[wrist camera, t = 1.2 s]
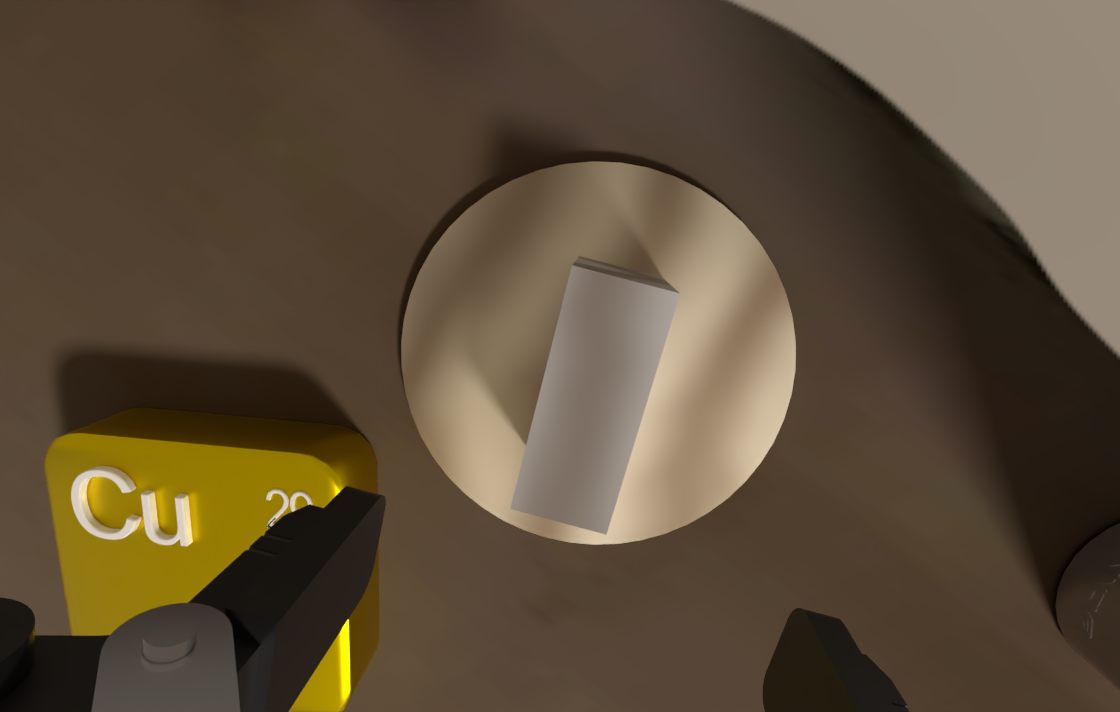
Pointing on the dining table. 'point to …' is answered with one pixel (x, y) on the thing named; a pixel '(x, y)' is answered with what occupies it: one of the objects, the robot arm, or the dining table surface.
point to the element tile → (197, 516)
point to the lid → (598, 352)
